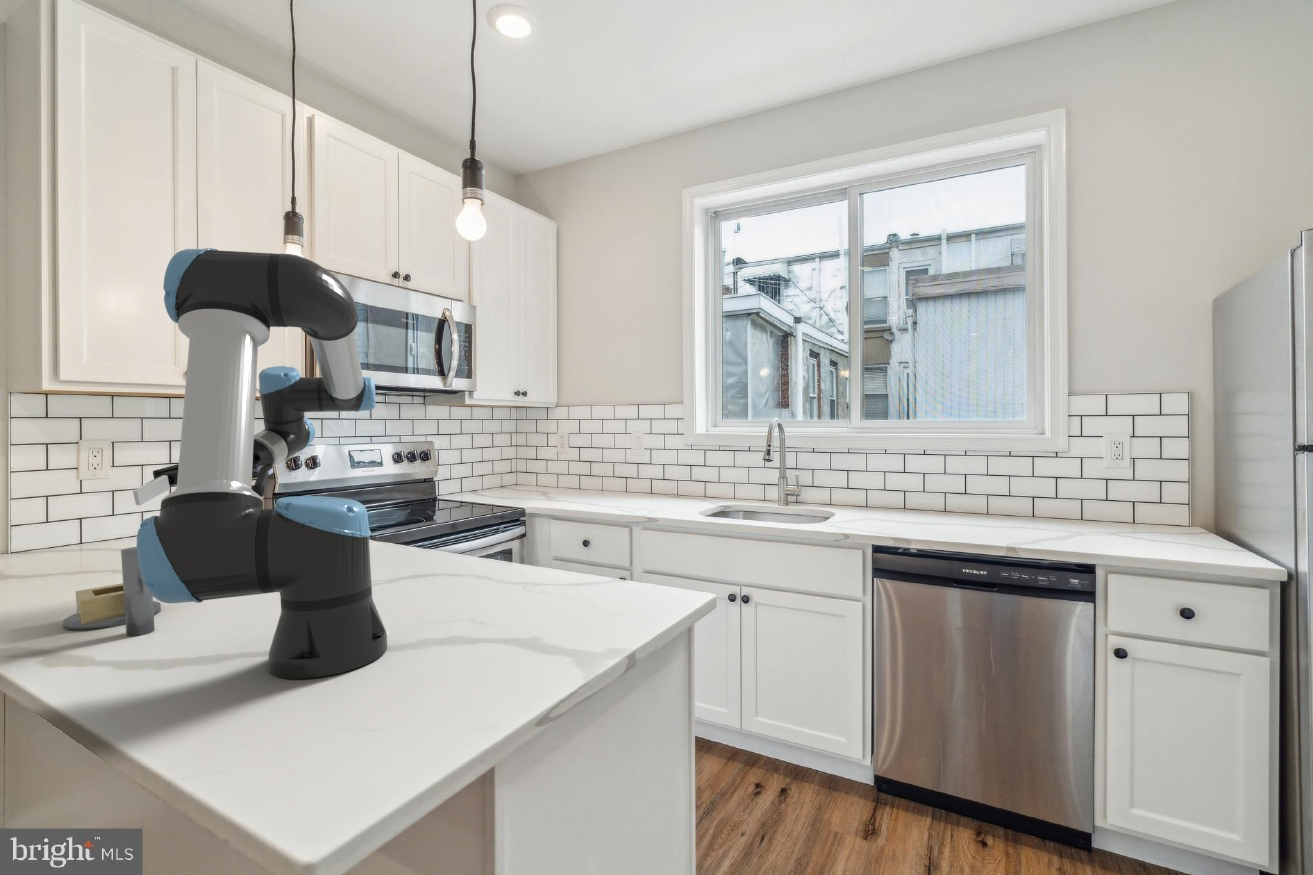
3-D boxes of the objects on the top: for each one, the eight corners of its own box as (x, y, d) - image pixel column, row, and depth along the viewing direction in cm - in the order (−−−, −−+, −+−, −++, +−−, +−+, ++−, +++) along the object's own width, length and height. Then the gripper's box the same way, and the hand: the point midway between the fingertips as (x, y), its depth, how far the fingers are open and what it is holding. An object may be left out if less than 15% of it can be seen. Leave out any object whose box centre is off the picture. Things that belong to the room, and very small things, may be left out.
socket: (166, 615, 110) (165, 588, 110) (66, 636, 100) (64, 606, 100) (154, 601, 119) (152, 576, 118) (61, 619, 109) (59, 591, 109)
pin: (156, 631, 101) (151, 547, 101) (127, 638, 99) (122, 552, 98) (152, 627, 104) (147, 545, 103) (124, 633, 101) (119, 548, 101)
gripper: (318, 479, 127) (248, 530, 107) (200, 464, 127) (109, 513, 108) (314, 445, 124) (242, 492, 104) (194, 431, 125) (99, 474, 105)
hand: (174, 503), depth 106 cm, fingers open, 13 cm apart
